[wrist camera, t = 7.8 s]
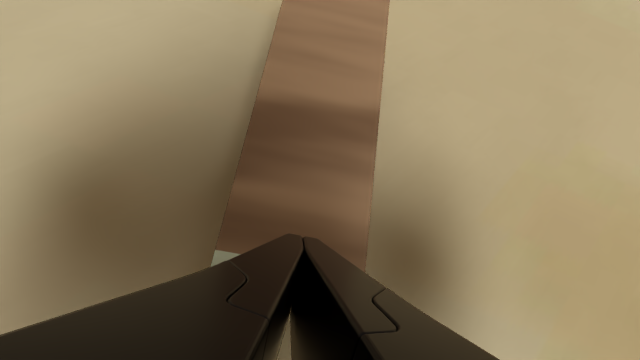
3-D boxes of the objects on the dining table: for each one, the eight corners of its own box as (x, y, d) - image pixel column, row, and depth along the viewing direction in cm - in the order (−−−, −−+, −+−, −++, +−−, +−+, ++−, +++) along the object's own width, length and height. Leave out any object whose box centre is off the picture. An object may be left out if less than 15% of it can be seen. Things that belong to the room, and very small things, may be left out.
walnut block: (362, 294, 11) (389, -1, 17) (210, 268, 11) (289, -26, 17) (334, 303, 16) (362, 68, 22) (225, 285, 16) (283, 50, 21)
